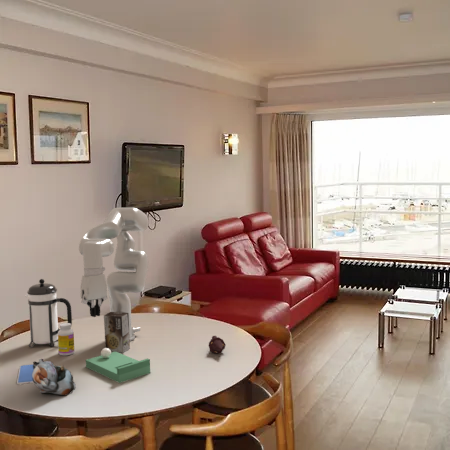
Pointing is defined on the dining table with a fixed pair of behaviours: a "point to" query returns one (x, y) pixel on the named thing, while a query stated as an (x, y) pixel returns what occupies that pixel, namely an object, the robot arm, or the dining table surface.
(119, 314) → the coffee box
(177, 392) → the dining table surface
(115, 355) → the green
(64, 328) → the supplement bottle
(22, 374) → the tablet computer
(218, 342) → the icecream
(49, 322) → the coffee press
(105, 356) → the ball
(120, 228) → the robot arm
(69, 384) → the lucky cat figurine
